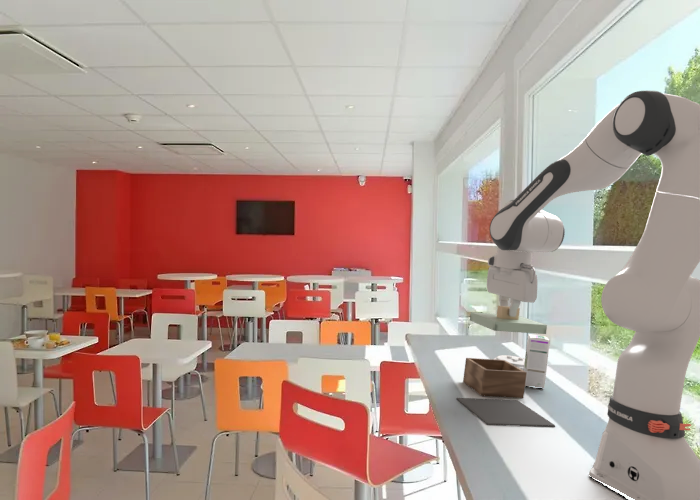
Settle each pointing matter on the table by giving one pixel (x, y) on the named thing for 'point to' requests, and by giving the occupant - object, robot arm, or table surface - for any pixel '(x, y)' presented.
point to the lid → (512, 360)
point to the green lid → (507, 322)
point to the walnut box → (494, 378)
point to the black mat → (504, 412)
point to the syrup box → (536, 360)
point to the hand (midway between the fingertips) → (507, 314)
